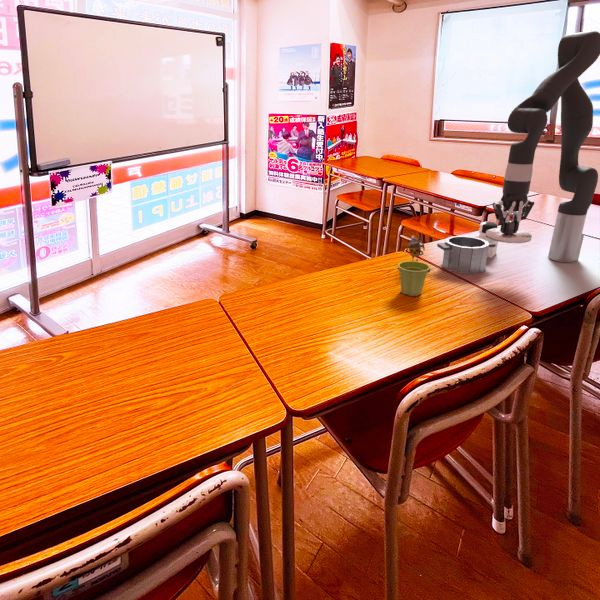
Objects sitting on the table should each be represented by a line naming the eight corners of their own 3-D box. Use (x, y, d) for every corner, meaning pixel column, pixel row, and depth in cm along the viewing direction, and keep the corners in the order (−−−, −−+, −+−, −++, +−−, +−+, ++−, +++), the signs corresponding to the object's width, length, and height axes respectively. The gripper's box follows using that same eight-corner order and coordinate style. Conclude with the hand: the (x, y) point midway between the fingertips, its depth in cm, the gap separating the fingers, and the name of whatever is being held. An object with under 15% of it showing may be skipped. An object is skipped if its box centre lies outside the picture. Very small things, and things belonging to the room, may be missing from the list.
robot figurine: (431, 266, 177) (435, 233, 173) (430, 275, 169) (434, 241, 164) (399, 263, 180) (402, 230, 175) (397, 272, 172) (400, 238, 167)
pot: (477, 258, 186) (480, 234, 182) (499, 271, 173) (504, 246, 170) (428, 261, 182) (431, 237, 178) (448, 275, 169) (451, 249, 166)
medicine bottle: (496, 253, 192) (501, 222, 187) (491, 258, 186) (496, 226, 181) (477, 249, 195) (481, 219, 190) (472, 254, 190) (476, 223, 185)
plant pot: (392, 287, 159) (394, 261, 156) (421, 286, 160) (424, 260, 157) (400, 298, 151) (402, 271, 147) (430, 298, 152) (434, 270, 148)
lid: (513, 229, 169) (516, 214, 167) (540, 241, 157) (543, 225, 155) (477, 232, 166) (479, 217, 164) (501, 244, 154) (504, 228, 152)
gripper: (530, 174, 159) (520, 228, 166) (490, 177, 156) (482, 231, 163) (546, 179, 152) (535, 234, 159) (504, 181, 149) (495, 238, 156)
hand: (508, 232), depth 161 cm, fingers closed on lid, 3 cm apart
